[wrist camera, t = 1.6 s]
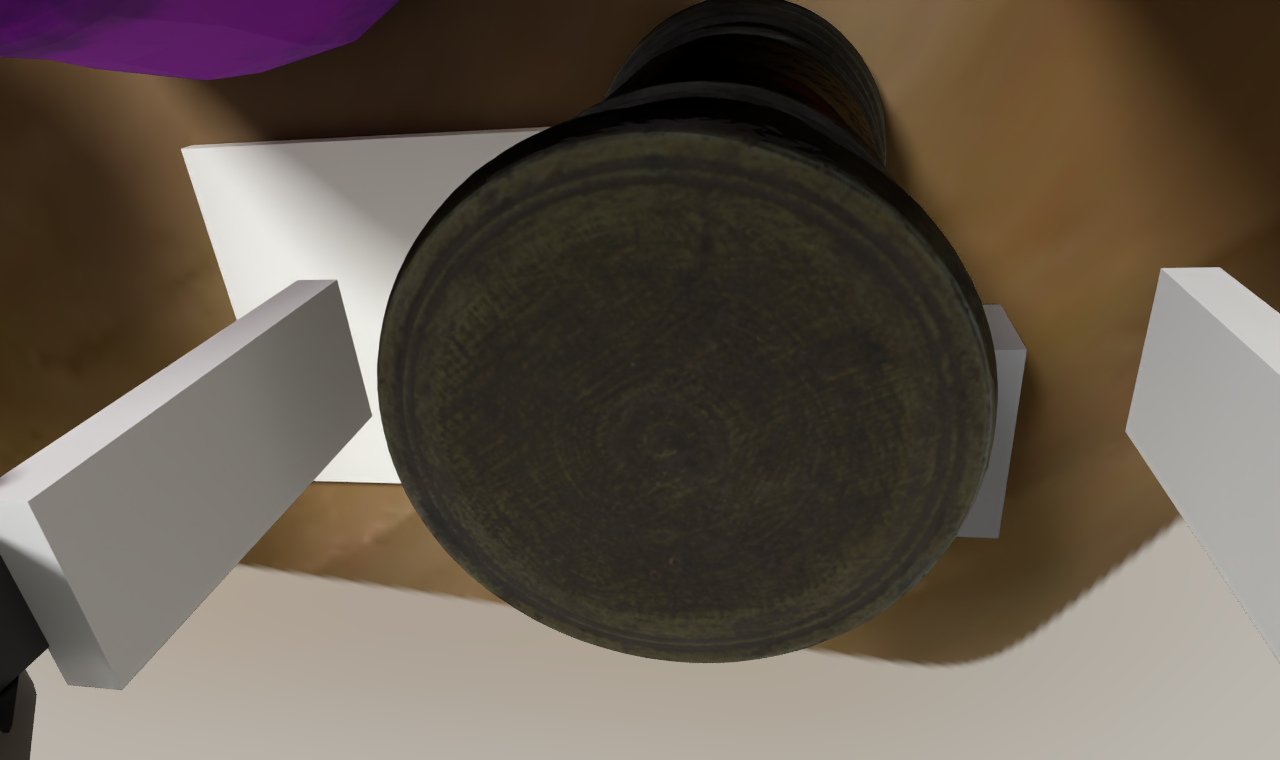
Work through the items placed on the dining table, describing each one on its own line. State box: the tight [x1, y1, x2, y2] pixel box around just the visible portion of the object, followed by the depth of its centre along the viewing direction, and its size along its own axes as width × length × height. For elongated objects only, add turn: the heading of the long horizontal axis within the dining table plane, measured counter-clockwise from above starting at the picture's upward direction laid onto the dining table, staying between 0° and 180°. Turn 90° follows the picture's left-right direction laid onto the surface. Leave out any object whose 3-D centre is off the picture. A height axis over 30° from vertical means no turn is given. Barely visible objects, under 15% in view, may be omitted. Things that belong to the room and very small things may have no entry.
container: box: [377, 0, 998, 663], centre depth 19 cm, size 9×9×18 cm
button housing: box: [956, 305, 1027, 538], centre depth 28 cm, size 7×7×4 cm
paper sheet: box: [181, 127, 550, 483], centre depth 31 cm, size 14×14×1 cm
